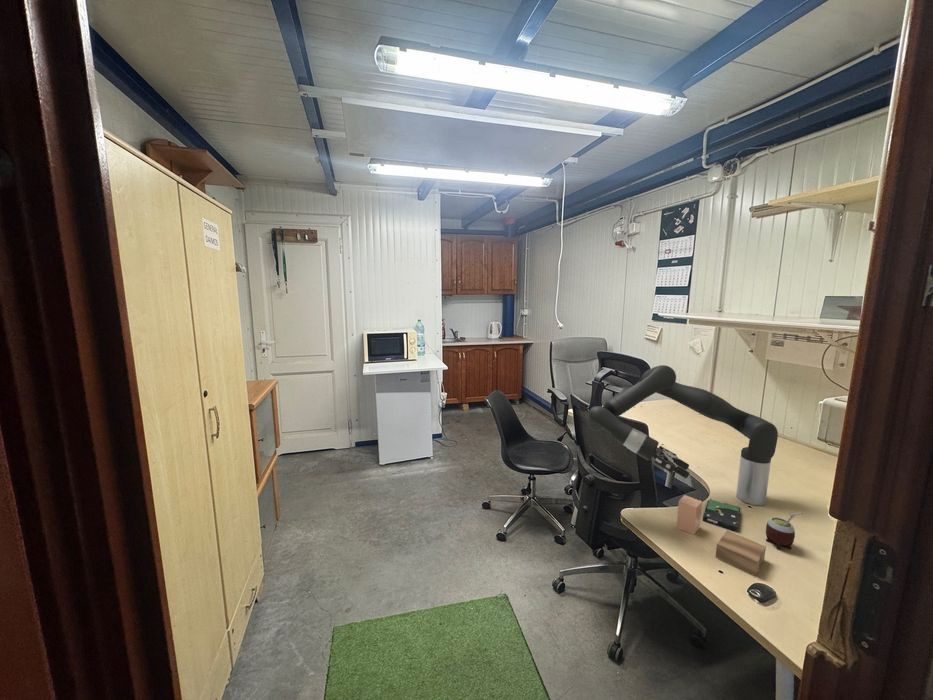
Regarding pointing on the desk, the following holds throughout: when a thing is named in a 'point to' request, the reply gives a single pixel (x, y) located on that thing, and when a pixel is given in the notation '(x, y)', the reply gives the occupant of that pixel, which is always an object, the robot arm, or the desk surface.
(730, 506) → the disk drive
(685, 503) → the pink upright block
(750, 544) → the walnut block
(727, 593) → the desk surface
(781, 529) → the mate gourd
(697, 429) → the desk surface
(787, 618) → the desk surface
